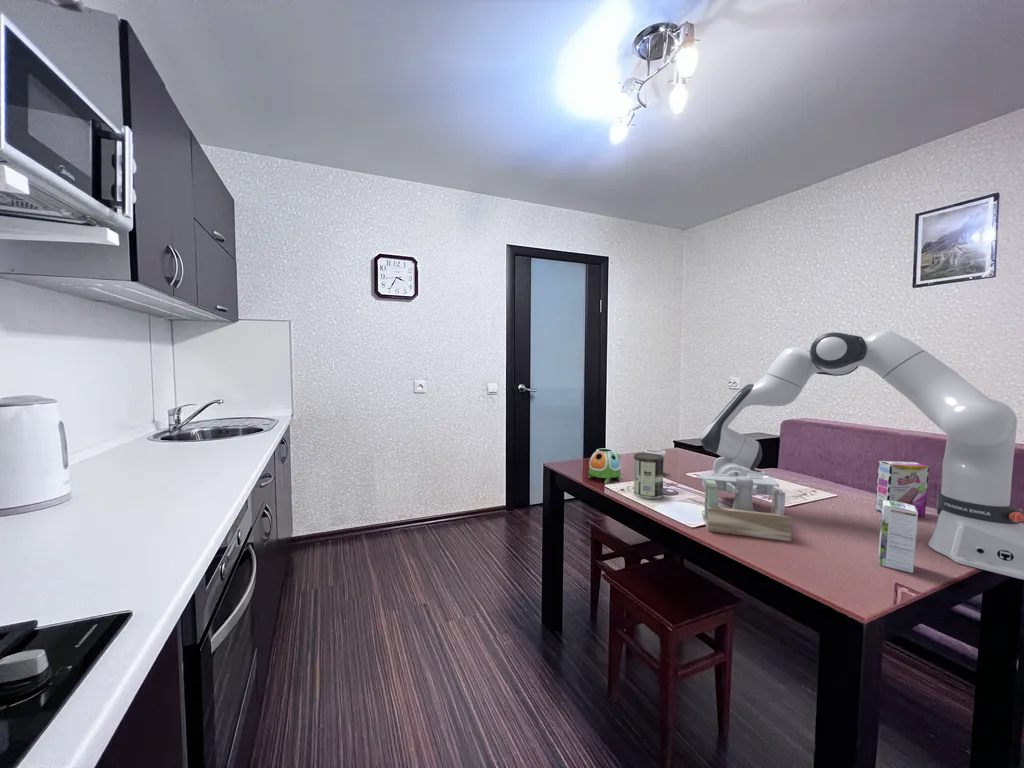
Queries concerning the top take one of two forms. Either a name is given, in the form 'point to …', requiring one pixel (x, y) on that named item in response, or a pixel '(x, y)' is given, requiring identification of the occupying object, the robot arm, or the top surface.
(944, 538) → the robot arm
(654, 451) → the dixie cup
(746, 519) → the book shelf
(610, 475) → the turtle holder
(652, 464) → the coffee can
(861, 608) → the top surface
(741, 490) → the salt shaker
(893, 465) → the candy bar box
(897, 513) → the syrup box
